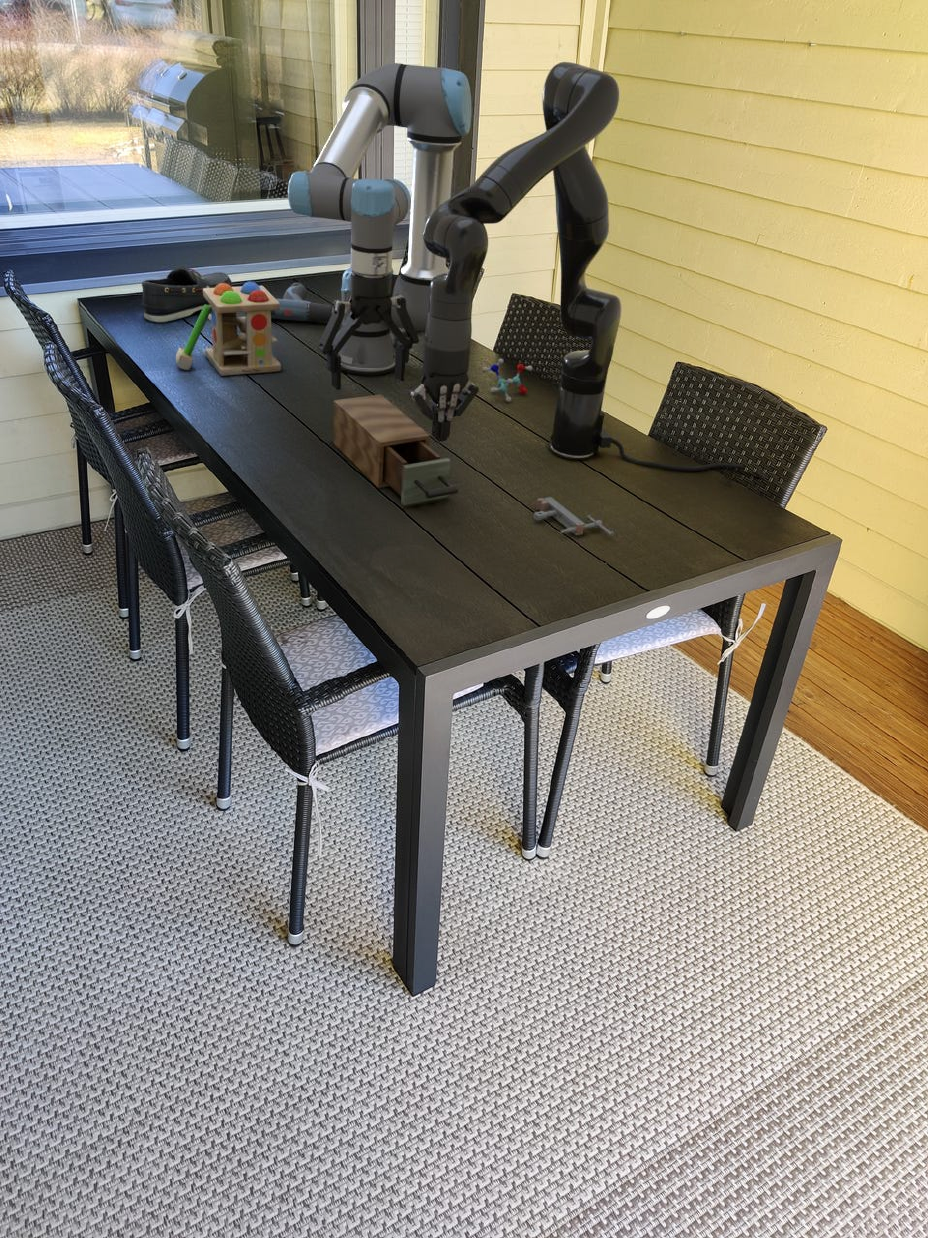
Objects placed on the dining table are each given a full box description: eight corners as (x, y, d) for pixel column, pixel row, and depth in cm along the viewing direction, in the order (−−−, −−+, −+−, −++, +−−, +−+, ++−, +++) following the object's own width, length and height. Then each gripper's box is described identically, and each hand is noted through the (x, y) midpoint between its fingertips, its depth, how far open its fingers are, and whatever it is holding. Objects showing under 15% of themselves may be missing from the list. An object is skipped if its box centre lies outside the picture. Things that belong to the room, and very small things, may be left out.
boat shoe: (251, 301, 273) (249, 262, 267) (161, 324, 249) (157, 282, 243) (217, 292, 278) (215, 254, 273) (126, 314, 254) (121, 273, 249)
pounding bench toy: (183, 379, 220) (176, 299, 210) (169, 357, 231) (162, 280, 221) (282, 371, 230) (280, 294, 220) (264, 350, 240) (262, 276, 230)
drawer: (463, 511, 178) (467, 474, 174) (419, 520, 174) (421, 482, 170) (399, 453, 196) (401, 418, 192) (357, 459, 192) (358, 424, 188)
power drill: (344, 304, 276) (335, 327, 259) (277, 298, 275) (264, 321, 258) (344, 285, 273) (335, 306, 256) (277, 279, 272) (264, 300, 255)
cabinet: (426, 479, 190) (429, 435, 185) (378, 488, 185) (380, 442, 180) (379, 436, 204) (380, 394, 199) (333, 443, 200) (333, 400, 194)
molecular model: (528, 394, 221) (514, 351, 219) (490, 408, 224) (476, 365, 223) (540, 392, 231) (527, 351, 230) (504, 406, 235) (491, 365, 234)
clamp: (523, 501, 180) (568, 492, 185) (522, 511, 182) (566, 502, 186) (570, 539, 170) (616, 528, 174) (568, 550, 171) (614, 539, 176)
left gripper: (315, 283, 171) (316, 398, 183) (440, 273, 182) (433, 382, 194) (299, 271, 176) (301, 383, 188) (421, 261, 187) (416, 368, 199)
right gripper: (422, 353, 155) (416, 453, 165) (493, 345, 161) (483, 442, 171) (401, 337, 160) (396, 436, 170) (471, 330, 166) (462, 426, 176)
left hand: (368, 383), depth 191 cm, fingers open, 13 cm apart
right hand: (440, 439), depth 170 cm, fingers closed
